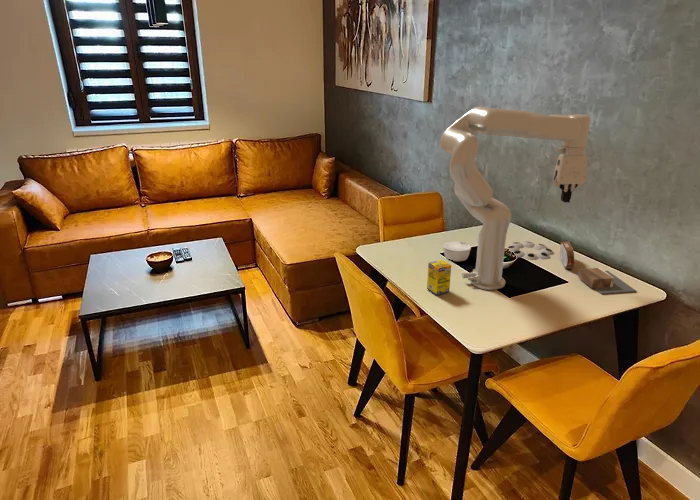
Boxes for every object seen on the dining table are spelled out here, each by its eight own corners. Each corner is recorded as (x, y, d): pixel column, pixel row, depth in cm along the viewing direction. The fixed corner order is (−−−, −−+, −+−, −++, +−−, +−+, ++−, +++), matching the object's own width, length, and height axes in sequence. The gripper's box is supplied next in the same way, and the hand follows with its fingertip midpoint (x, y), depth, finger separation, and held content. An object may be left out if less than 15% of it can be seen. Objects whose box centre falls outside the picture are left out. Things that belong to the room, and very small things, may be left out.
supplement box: (436, 296, 174) (438, 268, 170) (426, 289, 179) (427, 262, 174) (449, 292, 176) (451, 264, 172) (439, 286, 181) (441, 259, 177)
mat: (601, 294, 173) (601, 293, 173) (575, 274, 189) (576, 272, 189) (636, 292, 174) (636, 290, 174) (607, 272, 190) (607, 270, 190)
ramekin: (475, 258, 204) (476, 246, 202) (456, 265, 198) (457, 253, 196) (456, 250, 213) (456, 239, 211) (437, 256, 207) (437, 244, 205)
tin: (573, 272, 191) (576, 252, 187) (564, 271, 191) (568, 251, 188) (565, 257, 204) (568, 238, 201) (557, 256, 205) (560, 237, 201)
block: (593, 279, 175) (614, 278, 176) (579, 269, 183) (600, 267, 184) (591, 288, 176) (612, 286, 177) (578, 277, 185) (598, 276, 185)
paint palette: (505, 242, 222) (505, 237, 221) (551, 245, 217) (552, 241, 216) (505, 258, 205) (506, 254, 204) (556, 263, 200) (556, 258, 199)
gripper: (558, 153, 167) (550, 205, 174) (599, 152, 168) (590, 203, 176) (547, 149, 174) (540, 199, 181) (587, 148, 175) (579, 197, 182)
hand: (565, 201), depth 178 cm, fingers closed
